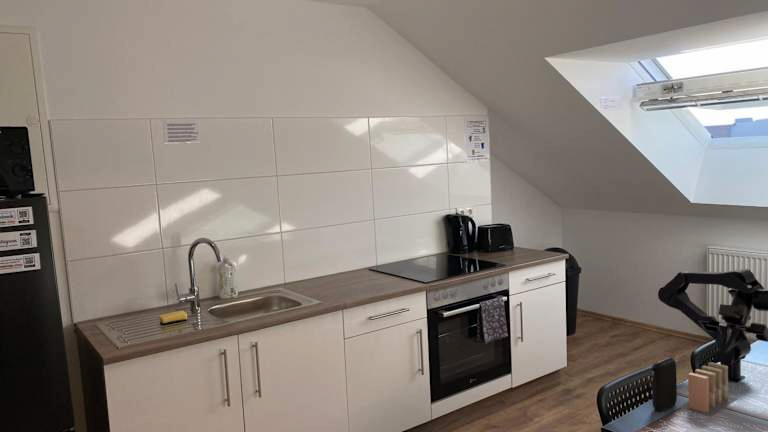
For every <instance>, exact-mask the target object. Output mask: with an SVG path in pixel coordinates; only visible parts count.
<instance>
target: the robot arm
mask: <svg viewBox="0 0 768 432" xmlns="http://www.w3.org/2000/svg"><path fill="white" fill-rule="evenodd" d="M690 284H692V285H693V284H696V285H716V286H722V287H725V288H727V289H729V290H727V292H728V294H729V295H730V296H731V297H732V300H731V304H722V303H720V304H719V309H718V313H717V314H718V315H719V316H721V320H718V319H717V318H716V317H715V316H714V315H708V314H707V313H706V312H705V311H703V310H702V308H700V307H699V306H698V305H696V304H695V303H694V302H693V301H691V299H690V297H689V294H688V293H687V292H686V291H687V290H688V289H689V286H690ZM657 296H658V297H657V298H658V300H659V302H662V304H665V305H666V306H668V307H670V308H672V309H674V310H678V311H680V312H681V313H682V314H683V315H684V316H685V317H687V318H688V320H691V321H692V322H693V323H694V324H695V325H696V326H698V327H699V328H700V329H701V330H702V331H704V333H706V334H707V335H708V336H709V337H710V338H712V339H713V340H714V341H715V344H716V346H717V348H718V351H717V352H716V353H714V359H715V362H719V364H721V365H725V366H728V382H731V383H735V384H737V383H739V382H741V381H742V380H744V379H746V376H745V375H742V372H741V371H742V367H741V366H742V365H741V363H742V362H741V361H742V360H744V359H746V356H748V355H749V354H750V352H751V351H752V346H751V342H750V341H749V340H748V339H749V338H748V335H749V334H753V335H755V338H756V339H757V340H758V341H760V342H761V341H762V342H767V343H768V326H767V325H766V324H764V323H757V322H751V323H750V325H748V322H749V321H750V320H751V319H752V317H751V313H752V310H753V309H756V311H758V312H768V289H765V287H764V285H762V284H761V282H759V280H757V278H756V277H755V274H754V273H753V272H752V271H751V270H750V269H748V268H739V269H733V270H727V271H697V270H696V271H692V270H691V271H690V270H684V271H680V272H678V273H677V274H676V275H675V276H674V277H673V278H672V279H671V280H670V281H668V282H667V283H666V284H665V285H664V286H662V287H660V288H659V289H658V292H657Z"/></svg>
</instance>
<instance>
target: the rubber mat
mask: <svg viewBox="0 0 768 432" xmlns="http://www.w3.org/2000/svg"><path fill="white" fill-rule="evenodd" d="M737 400H738V398H736V397H732V396H729V395H728V399H727V400H723V399H722V403H721V404H717V403H716V407H714V408H710V407H709V411H708V412H707V413H706V412H703V411H699V410H696V409H692V408H689V400H688V401H687V402H685V403H683V404H682V405H680V406H679V408H680V409H684V410H687V411H690V412H694V413H697V414H700V415H703V416H707V417H713V416H714V415H716V414H717V413H719V412H721V411H722V410H723V409H724V408H727V407H728V406H730V405H731V404H733V403H734V402H736V401H737Z"/></svg>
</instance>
